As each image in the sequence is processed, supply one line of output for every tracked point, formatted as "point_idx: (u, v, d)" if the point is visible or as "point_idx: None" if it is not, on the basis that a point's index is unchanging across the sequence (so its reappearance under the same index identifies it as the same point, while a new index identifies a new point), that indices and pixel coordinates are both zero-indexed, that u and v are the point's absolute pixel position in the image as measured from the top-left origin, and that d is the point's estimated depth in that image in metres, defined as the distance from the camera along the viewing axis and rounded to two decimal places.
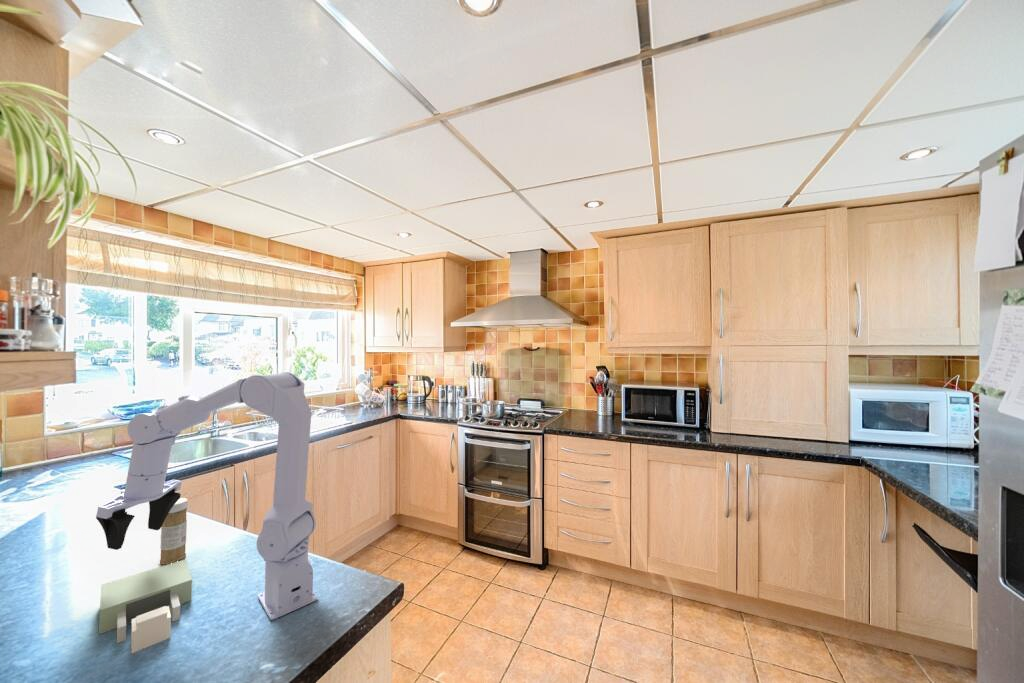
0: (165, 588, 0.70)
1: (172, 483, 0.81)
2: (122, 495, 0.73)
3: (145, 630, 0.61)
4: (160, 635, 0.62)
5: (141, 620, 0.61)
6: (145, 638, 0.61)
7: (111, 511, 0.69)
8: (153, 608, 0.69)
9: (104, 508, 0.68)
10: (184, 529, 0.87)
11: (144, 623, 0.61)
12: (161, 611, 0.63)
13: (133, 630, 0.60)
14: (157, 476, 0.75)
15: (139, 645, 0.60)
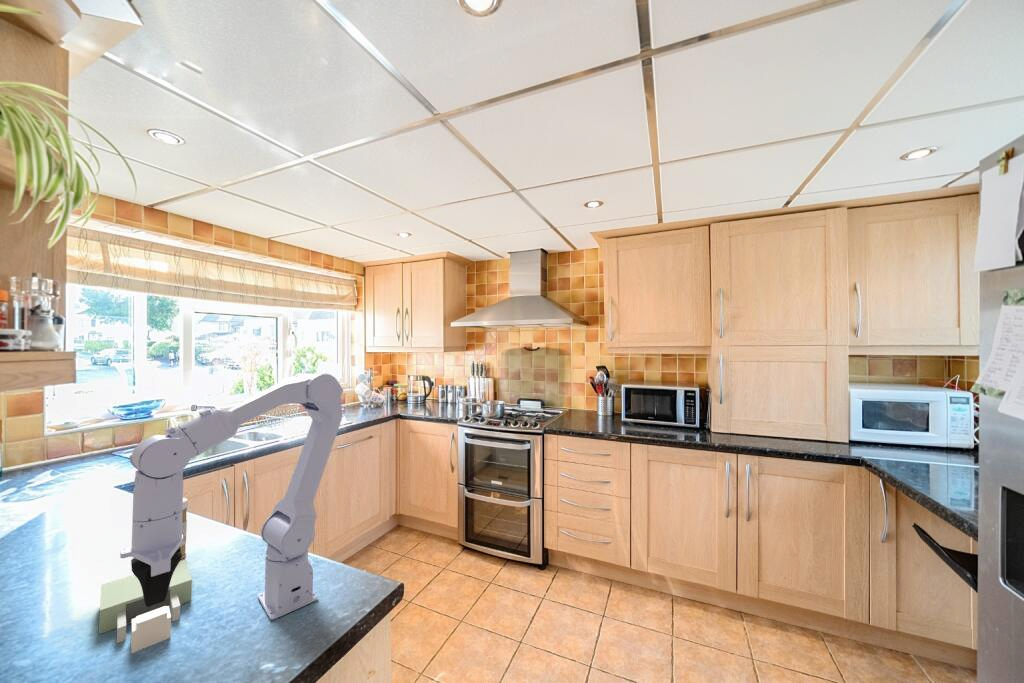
0: None
1: None
2: (141, 552, 0.56)
3: (145, 630, 0.61)
4: (160, 635, 0.62)
5: (141, 621, 0.61)
6: (145, 638, 0.61)
7: None
8: (153, 608, 0.69)
9: (163, 560, 0.54)
10: (184, 529, 0.87)
11: (144, 623, 0.61)
12: (161, 611, 0.63)
13: (133, 630, 0.60)
14: None
15: (139, 645, 0.60)
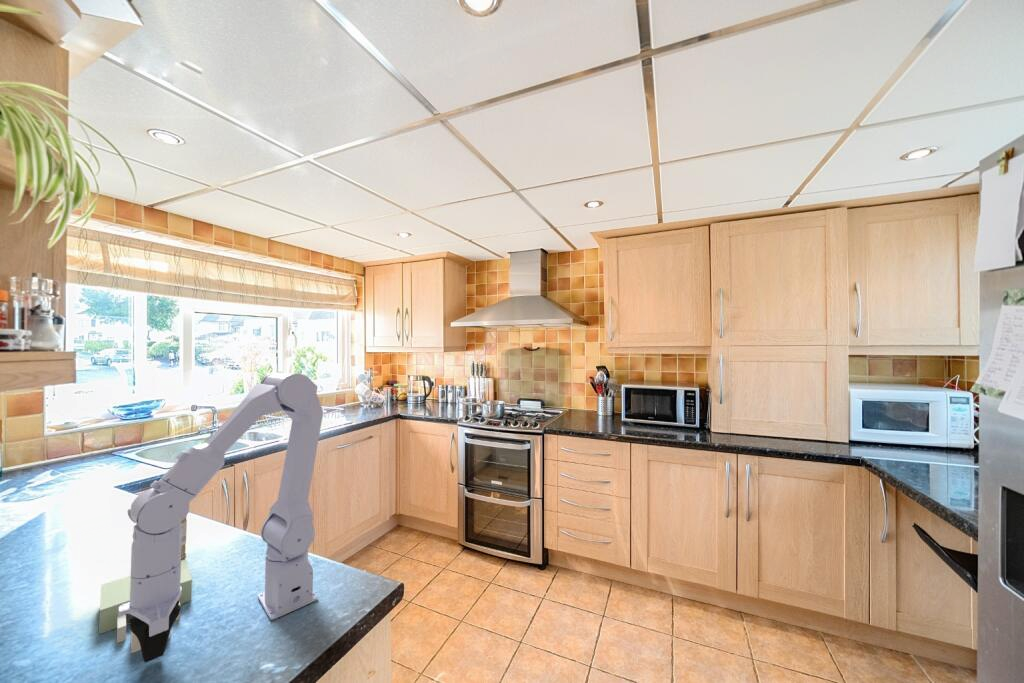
0: None
1: None
2: (139, 609, 0.55)
3: None
4: None
5: None
6: None
7: None
8: None
9: (161, 619, 0.54)
10: (184, 529, 0.87)
11: None
12: None
13: None
14: (180, 564, 0.60)
15: (139, 645, 0.60)
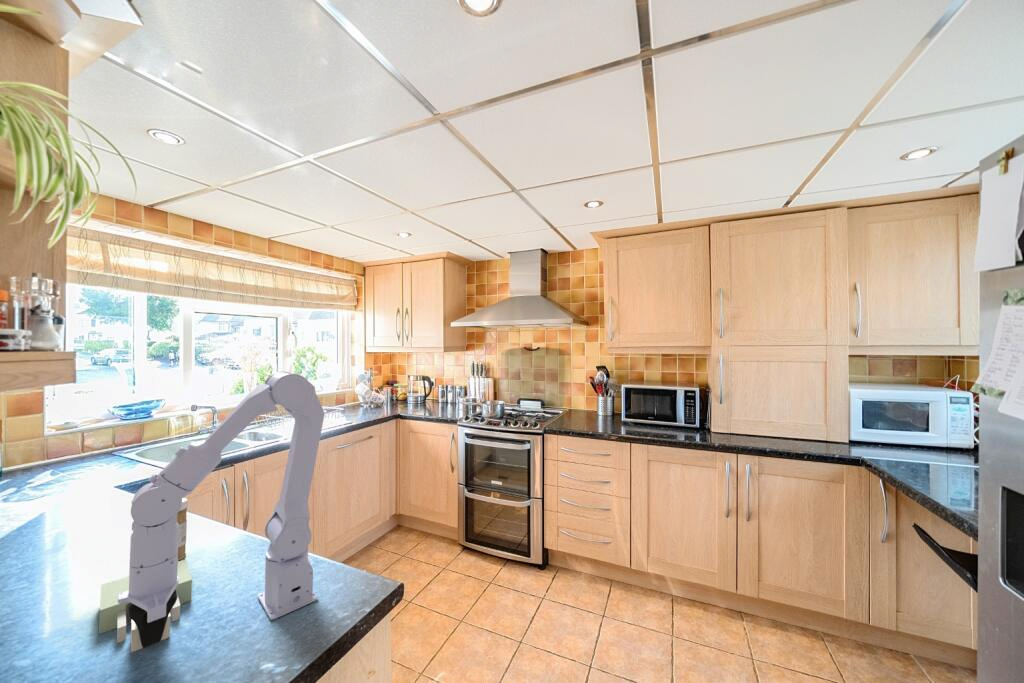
0: None
1: None
2: (138, 597, 0.58)
3: None
4: None
5: None
6: None
7: (165, 606, 0.57)
8: None
9: (159, 606, 0.56)
10: (184, 529, 0.87)
11: None
12: None
13: (133, 629, 0.60)
14: (177, 555, 0.63)
15: (138, 644, 0.61)
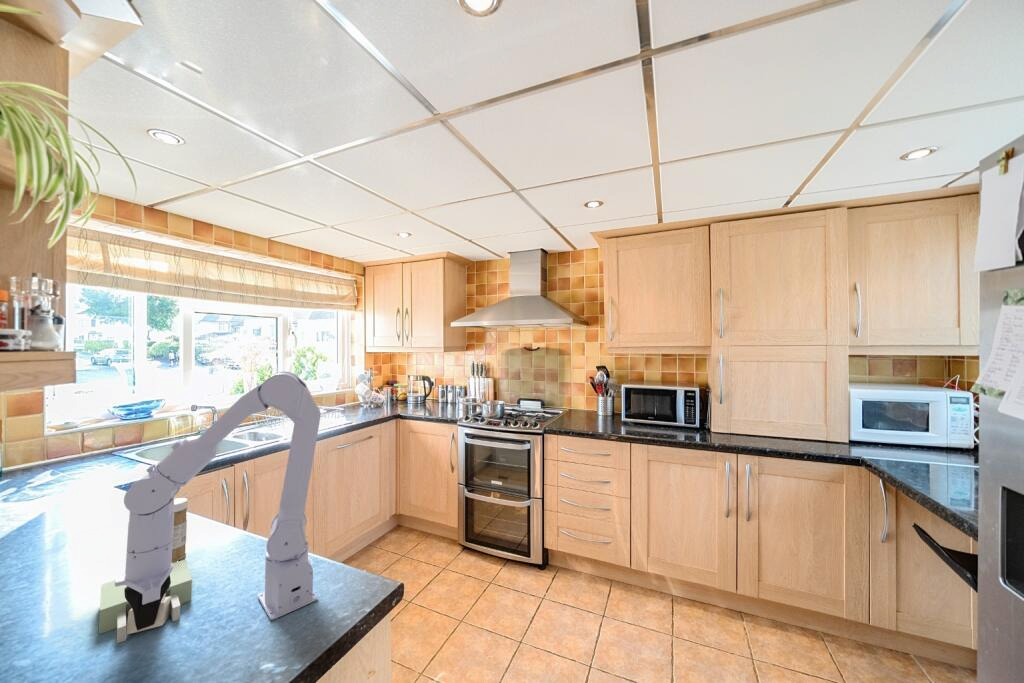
0: None
1: None
2: (134, 581, 0.61)
3: None
4: None
5: None
6: None
7: (160, 590, 0.60)
8: None
9: (154, 589, 0.59)
10: (184, 529, 0.87)
11: None
12: None
13: (130, 610, 0.64)
14: (172, 542, 0.66)
15: (133, 627, 0.63)
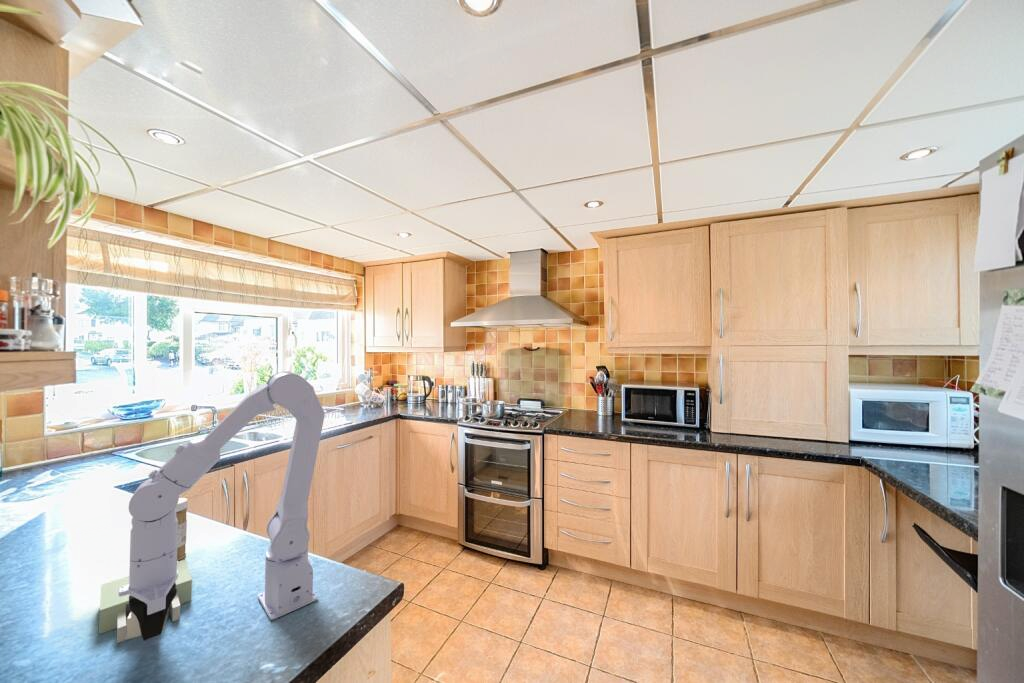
0: None
1: None
2: (138, 590, 0.59)
3: None
4: None
5: None
6: (139, 627, 0.63)
7: None
8: None
9: (159, 599, 0.57)
10: (184, 529, 0.87)
11: None
12: None
13: (128, 617, 0.63)
14: None
15: (133, 633, 0.63)
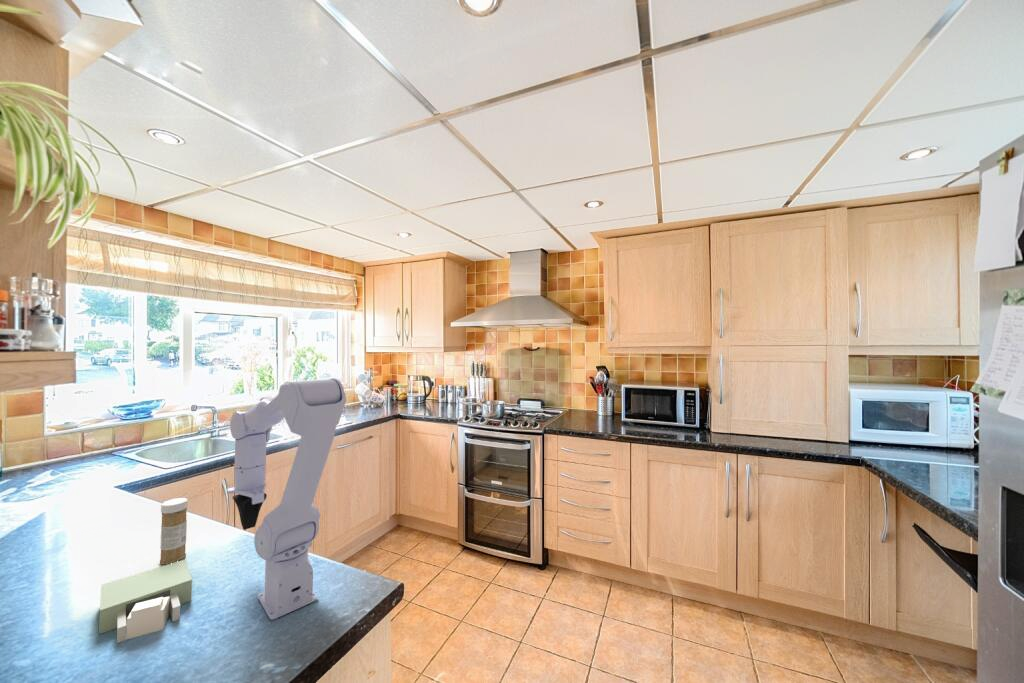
0: (165, 588, 0.70)
1: None
2: (242, 490, 0.80)
3: (139, 619, 0.63)
4: (153, 626, 0.64)
5: (135, 609, 0.64)
6: (139, 627, 0.63)
7: None
8: None
9: (260, 494, 0.78)
10: (184, 529, 0.87)
11: (138, 612, 0.63)
12: (156, 602, 0.65)
13: (128, 617, 0.63)
14: (265, 464, 0.84)
15: (133, 633, 0.63)
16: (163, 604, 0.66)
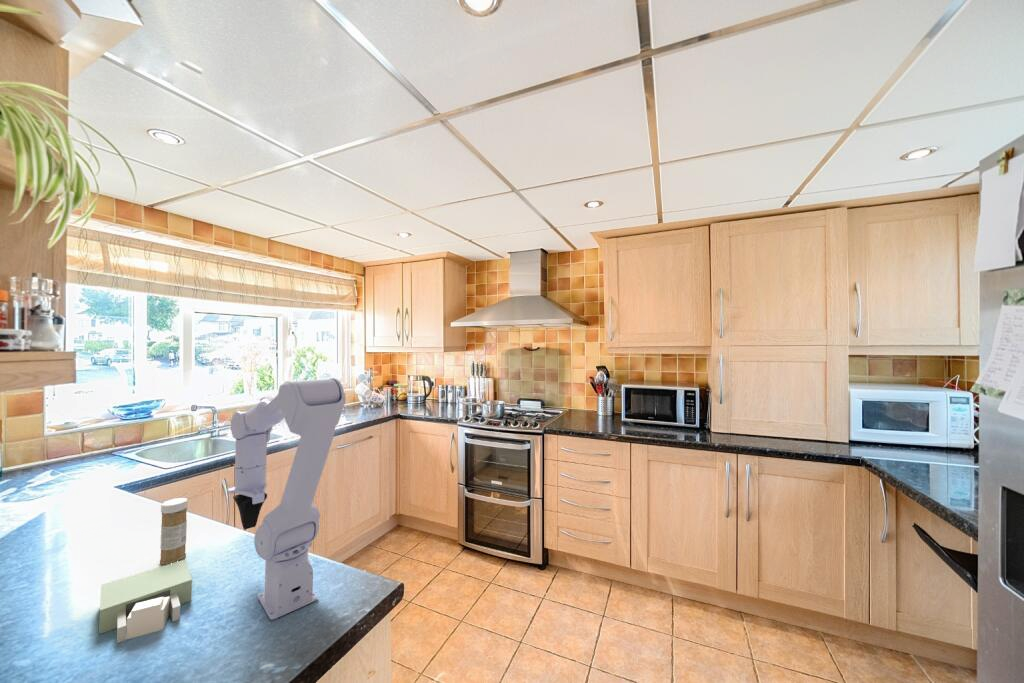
0: (165, 588, 0.70)
1: None
2: (242, 490, 0.80)
3: (139, 619, 0.64)
4: (153, 625, 0.64)
5: (136, 609, 0.64)
6: (139, 626, 0.63)
7: None
8: None
9: (260, 494, 0.78)
10: (184, 529, 0.87)
11: (138, 612, 0.63)
12: (156, 602, 0.65)
13: (128, 617, 0.63)
14: None
15: (133, 633, 0.63)
16: (163, 604, 0.66)
